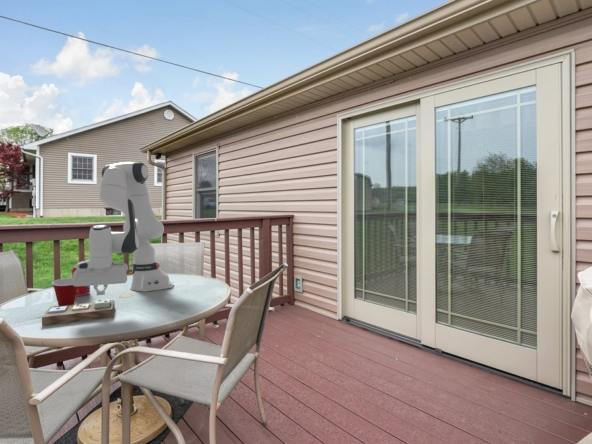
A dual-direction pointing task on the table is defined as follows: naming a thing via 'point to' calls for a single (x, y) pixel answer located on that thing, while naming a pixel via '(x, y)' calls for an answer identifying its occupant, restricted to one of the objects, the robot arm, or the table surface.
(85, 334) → the table surface
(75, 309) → the tile three dots
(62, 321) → the keypad board
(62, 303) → the plastic cup
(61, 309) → the tile one dot
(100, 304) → the tile two dots
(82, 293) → the soda can
